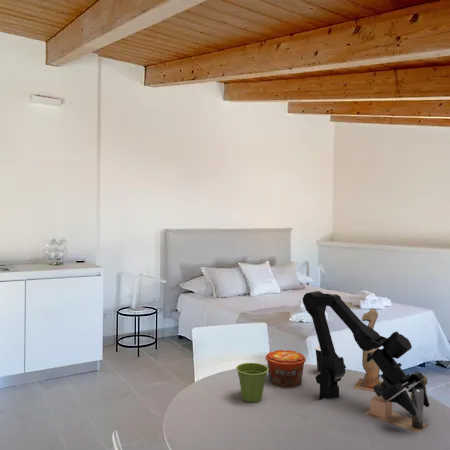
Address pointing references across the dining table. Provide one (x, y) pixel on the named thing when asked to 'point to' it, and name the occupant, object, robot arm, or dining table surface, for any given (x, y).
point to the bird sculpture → (370, 367)
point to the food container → (285, 368)
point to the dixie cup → (318, 358)
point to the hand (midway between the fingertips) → (421, 410)
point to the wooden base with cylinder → (405, 422)
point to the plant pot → (252, 380)
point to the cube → (381, 407)
